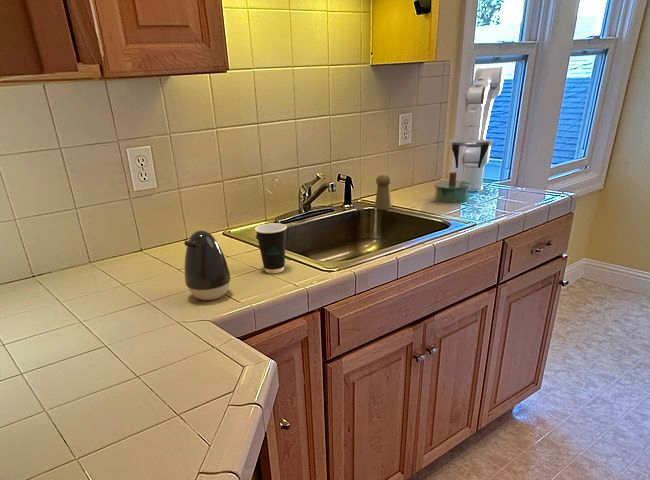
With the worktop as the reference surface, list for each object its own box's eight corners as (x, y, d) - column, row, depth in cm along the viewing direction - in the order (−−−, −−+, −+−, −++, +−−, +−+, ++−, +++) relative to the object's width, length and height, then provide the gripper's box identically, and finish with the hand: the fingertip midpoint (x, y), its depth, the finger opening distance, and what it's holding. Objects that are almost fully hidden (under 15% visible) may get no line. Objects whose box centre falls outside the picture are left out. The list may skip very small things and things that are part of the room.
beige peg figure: (371, 207, 181) (371, 175, 176) (385, 204, 183) (386, 172, 178) (380, 210, 176) (381, 177, 171) (394, 207, 178) (395, 175, 173)
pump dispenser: (178, 301, 114) (165, 235, 106) (206, 285, 122) (196, 223, 114) (214, 307, 110) (203, 239, 102) (241, 290, 117) (232, 226, 110)
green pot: (435, 197, 188) (436, 182, 185) (467, 197, 185) (469, 182, 182) (433, 204, 178) (434, 189, 176) (466, 205, 175) (468, 189, 172)
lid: (435, 184, 186) (436, 169, 183) (470, 183, 182) (471, 169, 180) (432, 191, 176) (433, 175, 173) (469, 191, 172) (471, 175, 170)
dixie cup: (272, 277, 124) (267, 233, 118) (253, 270, 129) (248, 228, 124) (296, 269, 128) (293, 226, 123) (277, 262, 134) (273, 221, 128)
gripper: (450, 127, 173) (446, 168, 179) (494, 126, 169) (489, 168, 175) (451, 126, 179) (447, 166, 185) (494, 125, 175) (488, 166, 181)
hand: (467, 167), depth 180 cm, fingers open, 7 cm apart
